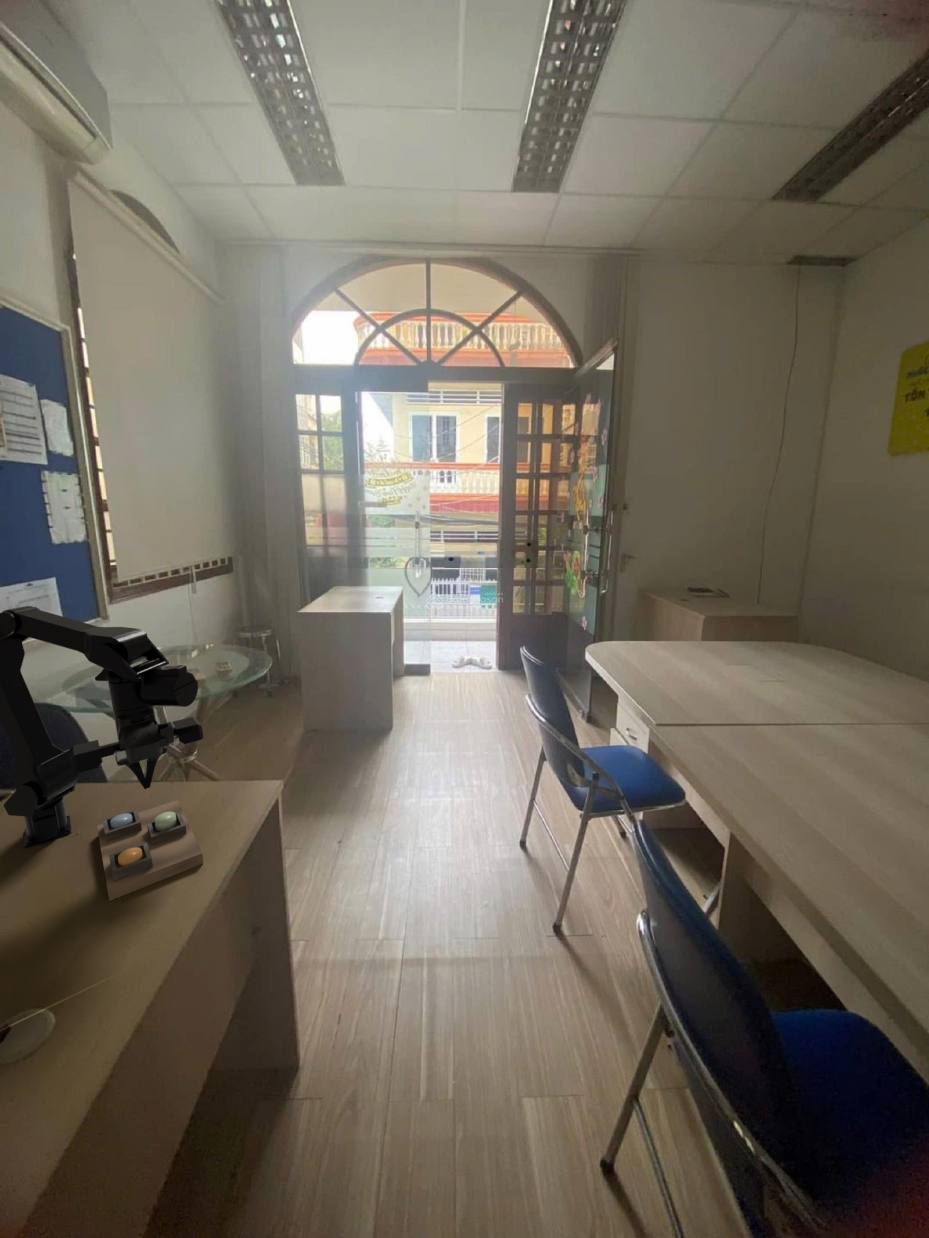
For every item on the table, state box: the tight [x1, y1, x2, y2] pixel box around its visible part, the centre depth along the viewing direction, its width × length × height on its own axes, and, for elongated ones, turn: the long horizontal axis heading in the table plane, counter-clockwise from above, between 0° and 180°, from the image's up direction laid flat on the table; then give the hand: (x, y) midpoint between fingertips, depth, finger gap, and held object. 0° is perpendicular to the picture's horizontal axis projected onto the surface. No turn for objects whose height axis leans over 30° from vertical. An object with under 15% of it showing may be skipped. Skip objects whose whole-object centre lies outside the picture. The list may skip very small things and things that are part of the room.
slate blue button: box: [110, 812, 133, 830], centre depth 88 cm, size 3×3×2 cm
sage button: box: [155, 812, 177, 831], centre depth 87 cm, size 3×3×2 cm
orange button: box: [118, 847, 143, 868], centre depth 79 cm, size 3×3×2 cm
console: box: [96, 799, 204, 902], centre depth 85 cm, size 20×13×4 cm, turn 40°
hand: (146, 787), depth 86 cm, fingers closed
